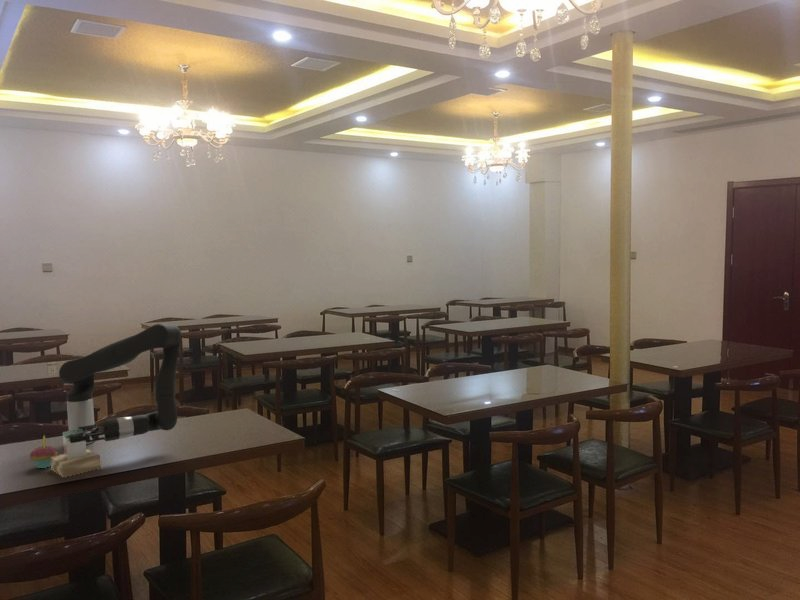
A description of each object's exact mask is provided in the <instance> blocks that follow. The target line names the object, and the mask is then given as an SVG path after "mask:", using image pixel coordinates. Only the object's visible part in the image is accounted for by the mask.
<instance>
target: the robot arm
mask: <svg viewBox="0 0 800 600" xmlns="http://www.w3.org/2000/svg"><path fill="white" fill-rule="evenodd" d="M181 342H182V332H181V329H180V328H179V326H177V325H176V324H174V323H163V322H159V323H156V324H153V325H151V326H149V327H148V328H146V329H144V330H143V331H141V332H140V331H139V333H137V334H134V335H131V336H128V337H125V338H123V339H120V340H117V341H114V342H112V343H110V344H108V345H106V346H103V347H101V348H99V349H97V350H96V351H93V352H92V353H90V354H87V355H86V356H83V357H80V358H75V359H71V360H68V361H65V362H64V363H63V364H62V365H61V366H60V368H59V371H58V376H59V378H60V379H61V381H62V382H64V383H66V384H69V385H70V384H71V385H72V387H71V388H70V389H69V391H68V392H67V393H66V398H65V399H66V407H67V408H66V410H67V412H66V413H67V424H68V425H67V426H68V431H71V430H77V429H82V430H83V431H84V432H85V434H83V436H82V435H76V436H71V437H70V442H71V443H76V442H81V441H83V442H86V445H89V444H91V443H94V442H97V441H104V442H110V441H115V440H120V439H127V438H130V437H133V436H139V435H144V434H147V433H148V432H152V431H153V432H154V431H157V430H158V431H159V430H162V431H170V430H173V429H174V428H175V426H176V424H177V423H178V422H177V421H178V411H177V404H176V376H177V375H176V373H177V365H178V360H179V354H180V348H181ZM154 349H162V350H163V351H162V353H163V354H162V362H161V365H160V368H159V370H158V373H157V374H156V379H155V383H154V384H155V385H154V392H155V393H154V395H155V397H154V398H155V399H154V400H155V403H156V404H157V410H156V411H153V412H150V413H149V412H148V413H146V414H137V415H131V416H122V417H121V416H120V417H115V418H108V419H104V420H102V422H101V425H100V426H98V425H97V424H96V423H95V412H94V398H93V393H94V390H95V374H97V373H101V372H105V371H109V370H112V369H116V368H120V367H122V366H124V365H126V364H127V365H128V363H131V362H133V361H134V360H135V359H136V358H138V356H139V355H140V354H143V353H145V352H147V351H150V350H154Z"/></svg>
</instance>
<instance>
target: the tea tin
mask: <svg viewBox="0 0 800 600" xmlns="http://www.w3.org/2000/svg"><path fill="white" fill-rule="evenodd" d="M83 434H85V432H84V431H83V430H82V429H77V430H71V431H69V430H66V431H62V440H63V442H62V443H63V454H64V456H65V457H66V459H67V460H72V459H77V458H82V457H87V451H86V449H87V444H86V442H83V441H81V442H76V443H71V442H70V437H71V436H76V435H82V436H83Z"/></svg>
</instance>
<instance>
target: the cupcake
mask: <svg viewBox="0 0 800 600" xmlns="http://www.w3.org/2000/svg"><path fill="white" fill-rule="evenodd" d="M42 440H43V441H42V446H38V447H36V448H34V449H33V450H32V451H31V452H30V453H29V458H30V460H31V461H34V463H35V465H36V468H37V469H38V468H45V469H48V468H47V467H49V468H51V467H50V466H51V461H50V457H53V456H58V450H57V448H56V447H54V446H51V445H50V446H49V445H48V446H47V445H46V436H45V434H43V436H42Z"/></svg>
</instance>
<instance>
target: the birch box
mask: <svg viewBox="0 0 800 600" xmlns="http://www.w3.org/2000/svg"><path fill="white" fill-rule="evenodd" d="M86 451H87V457H82V458H77V459H72V460H67V459H66V457H65V456H64V453H62V454H59V455H58V454H57V456H53V457H50V461H51V467H50V471H52V470H53V471H54V472H53V471H52V472H53V473H55V472H56V473H55V474H57V475H58V474H59V476H60V475H61V476H62V477H61V476H60V477H61V478H63V477H65V478H68V477H67V476H69V477H73V476H77V475H81V474H85V473H88V471H89V472H92V471H91V470H93V471H96V470H95V469H97V470H99V469H98V468H101V466H102V465H101V456H100V455H99V454H98V453H95V452H93V451H91V450H90V449H87V448H86ZM84 472H85V473H84ZM80 473H81V474H80ZM76 474H77V475H76ZM72 475H73V476H72Z"/></svg>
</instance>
